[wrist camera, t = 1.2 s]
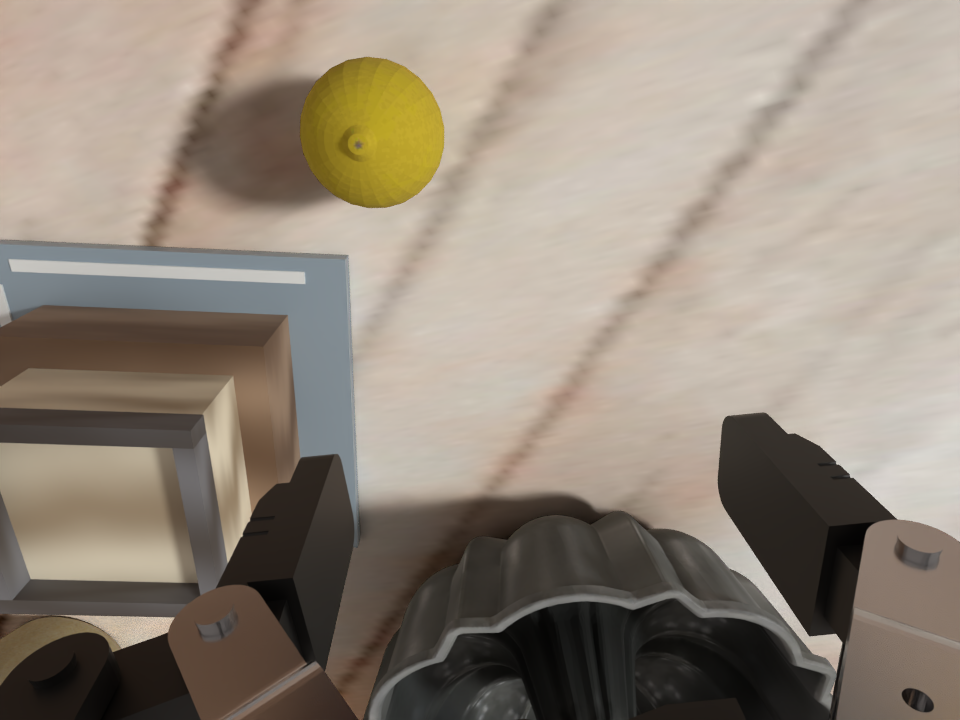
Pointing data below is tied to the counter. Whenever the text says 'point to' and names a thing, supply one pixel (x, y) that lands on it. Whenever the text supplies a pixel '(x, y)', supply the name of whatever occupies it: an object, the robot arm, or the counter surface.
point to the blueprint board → (215, 288)
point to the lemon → (372, 132)
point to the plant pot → (40, 639)
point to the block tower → (135, 453)
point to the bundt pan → (593, 632)
